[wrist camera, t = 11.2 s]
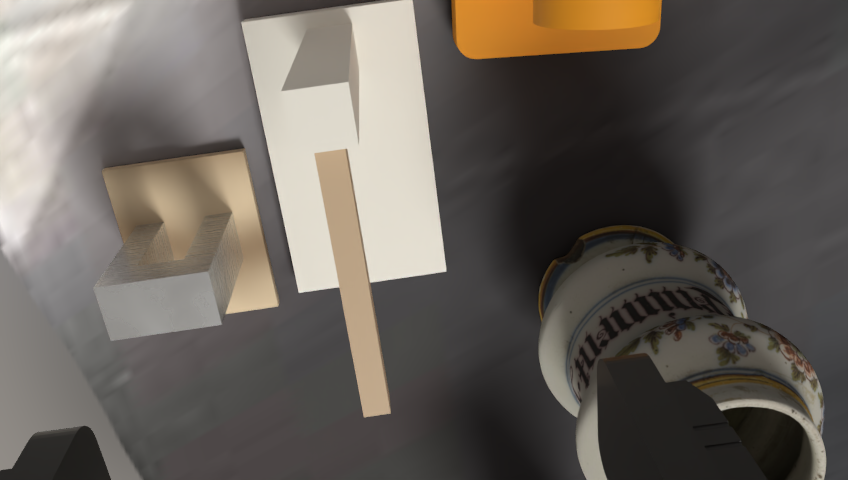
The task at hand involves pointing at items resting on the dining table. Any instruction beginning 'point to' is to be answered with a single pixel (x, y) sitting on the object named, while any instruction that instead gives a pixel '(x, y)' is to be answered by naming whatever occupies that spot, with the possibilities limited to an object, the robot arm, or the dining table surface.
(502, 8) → the bracket
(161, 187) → the cork mat
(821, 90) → the dining table surface
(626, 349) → the apothecary jar
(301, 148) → the stand
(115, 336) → the c link
